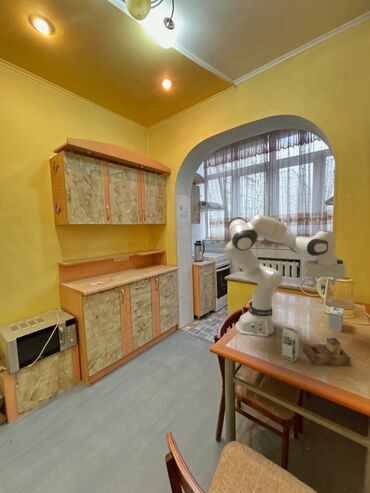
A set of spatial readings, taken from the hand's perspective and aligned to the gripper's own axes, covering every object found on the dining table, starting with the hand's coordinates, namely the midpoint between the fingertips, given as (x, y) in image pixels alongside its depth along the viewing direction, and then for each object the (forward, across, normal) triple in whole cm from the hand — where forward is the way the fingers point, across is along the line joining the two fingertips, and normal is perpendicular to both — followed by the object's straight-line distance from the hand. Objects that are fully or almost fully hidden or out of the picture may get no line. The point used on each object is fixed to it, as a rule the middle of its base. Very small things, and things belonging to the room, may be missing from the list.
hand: (323, 284), depth 122 cm
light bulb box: (+29, +12, +8) cm, 33 cm away
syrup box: (+29, -25, -22) cm, 44 cm away
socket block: (+29, -9, -22) cm, 38 cm away
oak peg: (+29, -6, -22) cm, 37 cm away
